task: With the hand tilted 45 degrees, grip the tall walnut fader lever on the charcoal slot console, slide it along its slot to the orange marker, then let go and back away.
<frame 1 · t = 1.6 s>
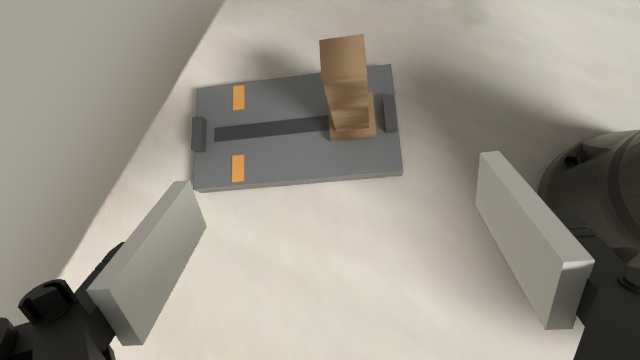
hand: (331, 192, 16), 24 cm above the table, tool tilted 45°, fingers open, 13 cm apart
fader: (348, 93, 34), point 8 cm above the table, slide at 0.0 cm
console: (295, 132, 43), on the table
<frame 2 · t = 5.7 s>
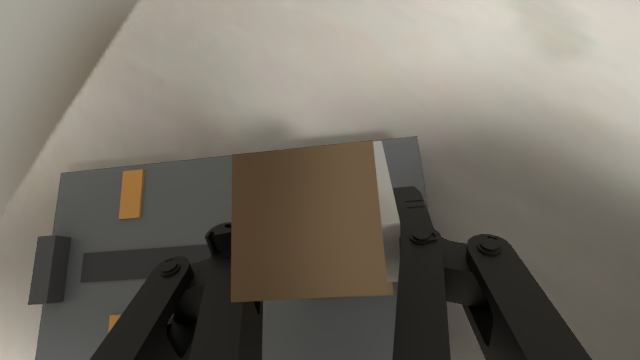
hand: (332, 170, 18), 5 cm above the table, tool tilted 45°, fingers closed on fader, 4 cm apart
fader: (331, 240, 14), point 8 cm above the table, slide at 0.0 cm, touching gripper
console: (238, 259, 23), on the table
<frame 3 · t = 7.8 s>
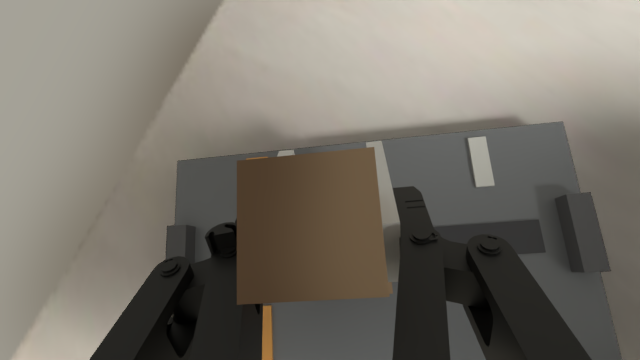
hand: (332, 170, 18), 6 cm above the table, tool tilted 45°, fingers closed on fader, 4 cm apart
fader: (332, 241, 15), point 8 cm above the table, slide at 8.4 cm, touching gripper
console: (367, 249, 22), on the table
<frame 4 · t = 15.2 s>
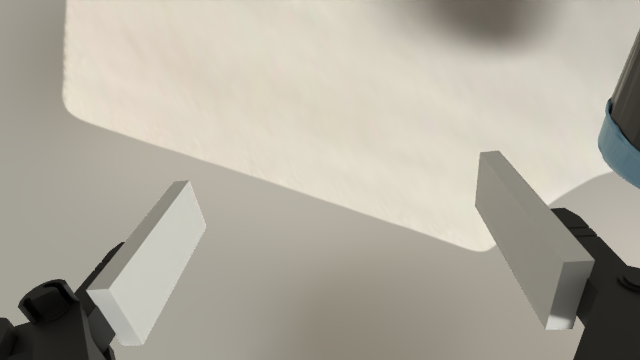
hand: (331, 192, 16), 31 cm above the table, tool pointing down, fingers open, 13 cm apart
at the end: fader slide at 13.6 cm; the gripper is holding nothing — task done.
